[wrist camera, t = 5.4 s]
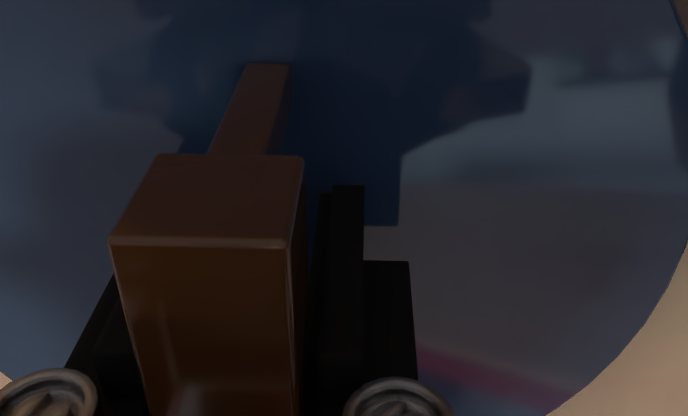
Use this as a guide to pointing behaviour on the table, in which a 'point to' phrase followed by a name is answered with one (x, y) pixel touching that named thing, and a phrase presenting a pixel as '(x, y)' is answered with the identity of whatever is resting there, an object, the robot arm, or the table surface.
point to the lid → (341, 168)
